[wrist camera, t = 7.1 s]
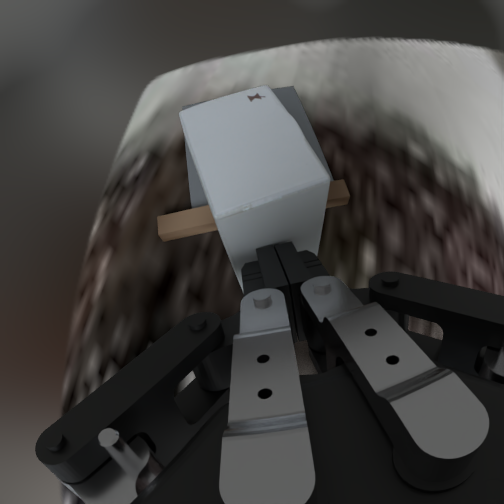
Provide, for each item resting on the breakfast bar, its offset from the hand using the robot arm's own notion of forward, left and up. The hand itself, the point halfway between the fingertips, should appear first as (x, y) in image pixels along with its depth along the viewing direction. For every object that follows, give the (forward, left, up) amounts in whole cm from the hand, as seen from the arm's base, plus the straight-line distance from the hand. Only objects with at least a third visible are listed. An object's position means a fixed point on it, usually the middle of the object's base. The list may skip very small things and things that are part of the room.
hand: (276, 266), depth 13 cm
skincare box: (0, -3, -8) cm, 9 cm away
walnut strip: (0, -7, -8) cm, 11 cm away
